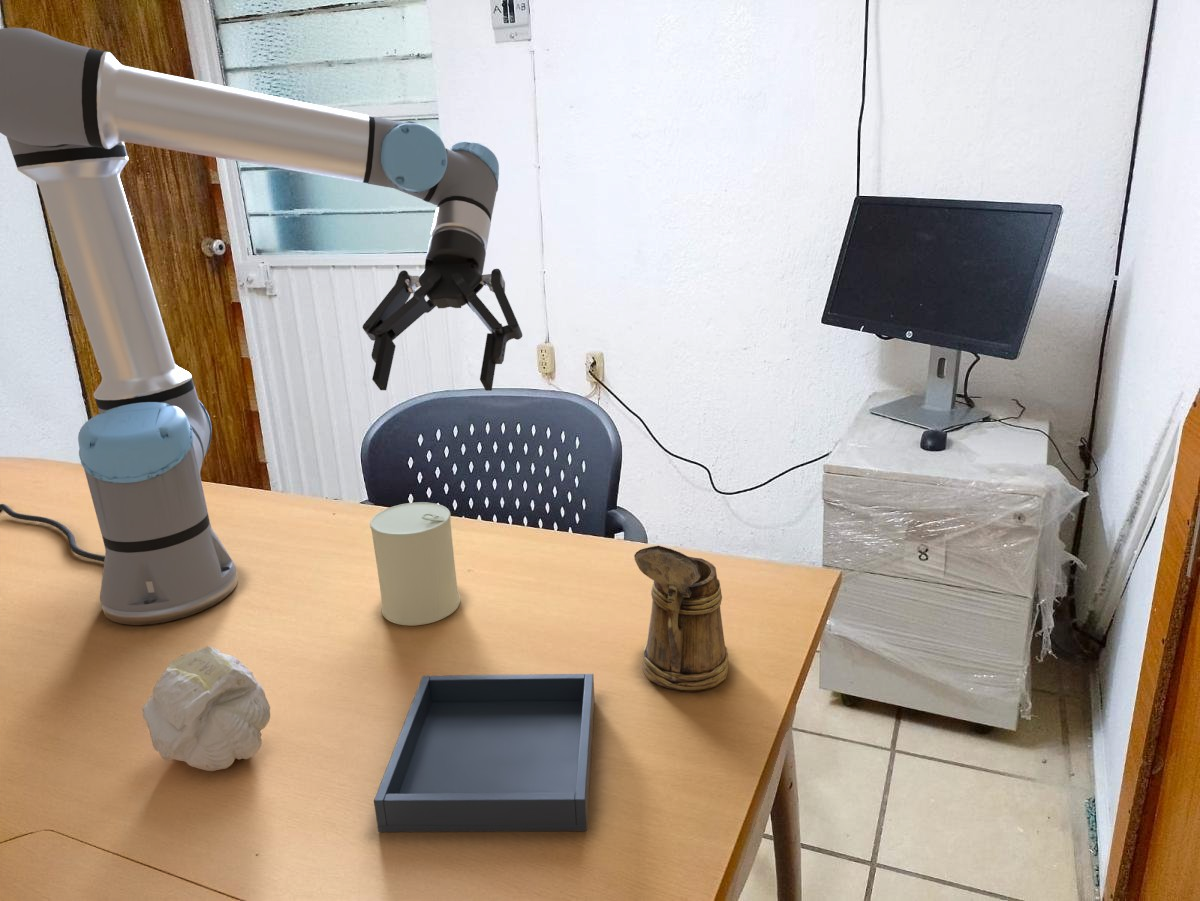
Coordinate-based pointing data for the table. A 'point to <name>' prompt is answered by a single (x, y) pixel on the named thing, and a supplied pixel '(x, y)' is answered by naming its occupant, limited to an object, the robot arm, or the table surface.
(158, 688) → the fossil replica
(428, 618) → the can
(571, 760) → the tray
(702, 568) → the wooden mug
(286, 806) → the table surface
